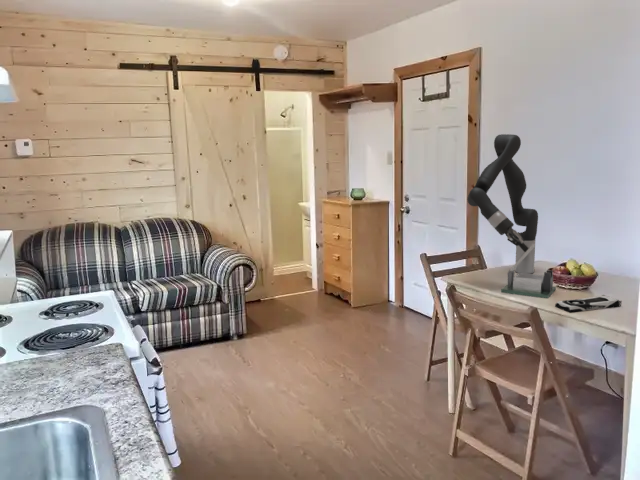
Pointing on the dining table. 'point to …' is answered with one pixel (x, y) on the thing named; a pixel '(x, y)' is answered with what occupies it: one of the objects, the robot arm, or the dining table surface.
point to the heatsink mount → (530, 284)
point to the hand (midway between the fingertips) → (527, 250)
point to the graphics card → (588, 304)
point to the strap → (521, 258)
